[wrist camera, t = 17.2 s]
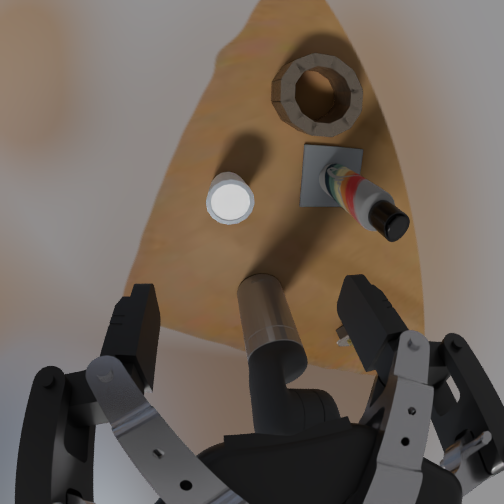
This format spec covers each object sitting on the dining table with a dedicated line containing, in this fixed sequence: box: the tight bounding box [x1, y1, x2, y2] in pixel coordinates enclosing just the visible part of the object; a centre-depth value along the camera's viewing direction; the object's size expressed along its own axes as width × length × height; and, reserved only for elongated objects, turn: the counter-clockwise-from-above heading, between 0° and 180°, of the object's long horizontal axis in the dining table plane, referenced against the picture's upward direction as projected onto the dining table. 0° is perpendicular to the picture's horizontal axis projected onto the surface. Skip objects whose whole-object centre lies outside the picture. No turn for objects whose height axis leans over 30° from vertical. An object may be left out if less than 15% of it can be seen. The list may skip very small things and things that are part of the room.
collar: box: [271, 53, 363, 137], centre depth 35 cm, size 12×12×6 cm
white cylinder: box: [206, 172, 254, 225], centre depth 41 cm, size 7×7×7 cm
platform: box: [336, 325, 353, 347], centre depth 64 cm, size 12×18×7 cm, turn 125°
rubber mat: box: [299, 144, 363, 207], centre depth 45 cm, size 11×11×1 cm
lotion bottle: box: [319, 163, 410, 242], centre depth 37 cm, size 6×6×20 cm
